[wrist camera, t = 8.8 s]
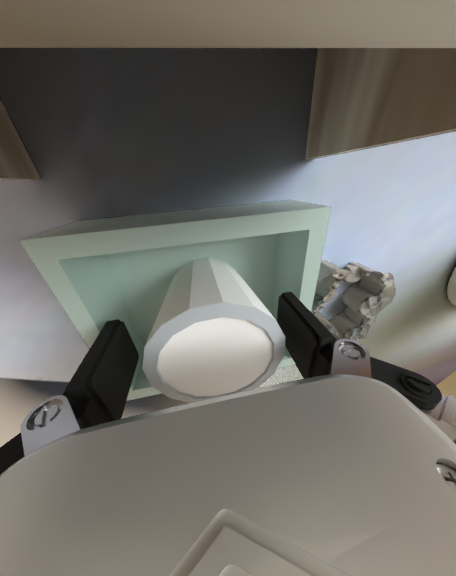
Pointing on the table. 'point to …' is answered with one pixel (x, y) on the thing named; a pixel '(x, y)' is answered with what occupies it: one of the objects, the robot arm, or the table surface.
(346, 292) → the egg carton
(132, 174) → the table surface
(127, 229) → the tray
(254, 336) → the shot glass
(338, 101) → the beige wooden block
